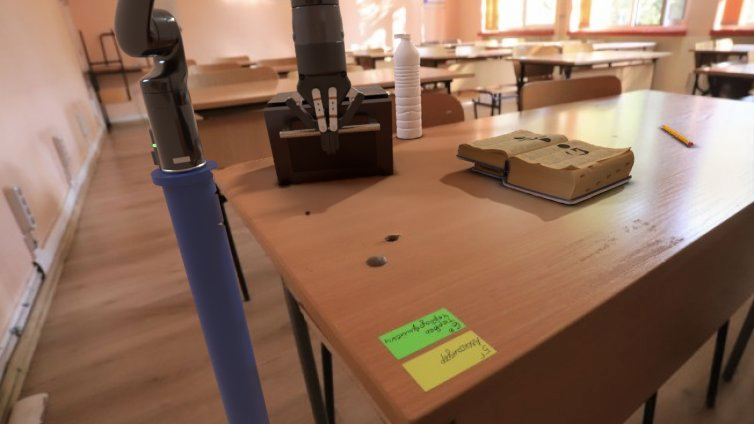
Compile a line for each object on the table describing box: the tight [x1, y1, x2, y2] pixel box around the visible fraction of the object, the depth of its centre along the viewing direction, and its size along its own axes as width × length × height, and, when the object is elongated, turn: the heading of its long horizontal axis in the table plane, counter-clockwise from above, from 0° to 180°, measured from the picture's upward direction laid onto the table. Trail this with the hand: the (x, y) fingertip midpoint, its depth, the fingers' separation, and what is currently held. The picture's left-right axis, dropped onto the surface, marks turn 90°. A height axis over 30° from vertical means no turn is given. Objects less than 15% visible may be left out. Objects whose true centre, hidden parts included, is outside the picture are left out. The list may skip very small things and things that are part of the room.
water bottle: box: [392, 33, 423, 140], centre depth 104 cm, size 9×6×25 cm
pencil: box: [661, 124, 694, 147], centre depth 93 cm, size 1×19×1 cm, turn 163°
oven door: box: [262, 97, 394, 186], centre depth 74 cm, size 6×22×15 cm, turn 95°
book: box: [455, 129, 636, 205], centre depth 73 cm, size 25×17×6 cm
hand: (331, 152), depth 69 cm, fingers closed
